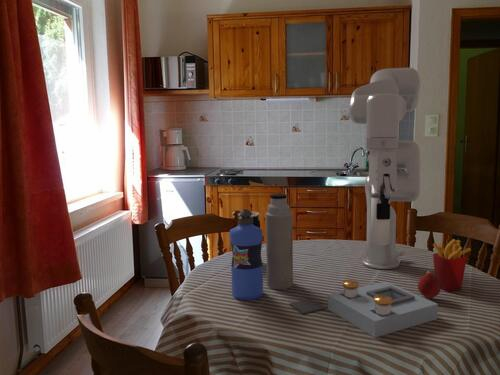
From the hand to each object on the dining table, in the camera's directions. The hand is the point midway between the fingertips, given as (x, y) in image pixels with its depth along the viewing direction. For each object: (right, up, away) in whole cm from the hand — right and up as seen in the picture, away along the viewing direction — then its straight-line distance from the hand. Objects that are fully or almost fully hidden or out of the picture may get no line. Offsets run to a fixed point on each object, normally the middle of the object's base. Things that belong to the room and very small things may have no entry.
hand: (380, 216), depth 114 cm
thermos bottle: (-24, -23, +24) cm, 41 cm away
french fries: (+26, -22, +18) cm, 39 cm away
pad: (-18, -25, +7) cm, 31 cm away
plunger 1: (-7, -24, +5) cm, 26 cm away
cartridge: (0, -7, +1) cm, 7 cm away
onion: (+16, -24, +11) cm, 31 cm away
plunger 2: (-1, -26, -6) cm, 27 cm away
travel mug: (-33, -20, +45) cm, 59 cm away
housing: (+1, -25, +2) cm, 25 cm away
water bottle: (-34, -24, +17) cm, 45 cm away
